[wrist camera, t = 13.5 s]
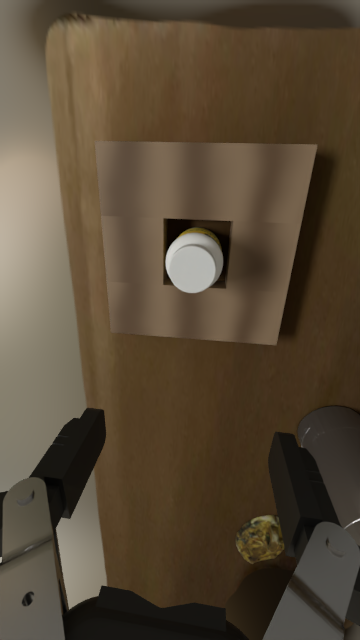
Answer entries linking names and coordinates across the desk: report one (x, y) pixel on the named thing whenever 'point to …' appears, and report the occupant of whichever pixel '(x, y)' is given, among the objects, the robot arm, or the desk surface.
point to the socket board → (201, 204)
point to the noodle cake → (260, 539)
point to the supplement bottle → (194, 260)
